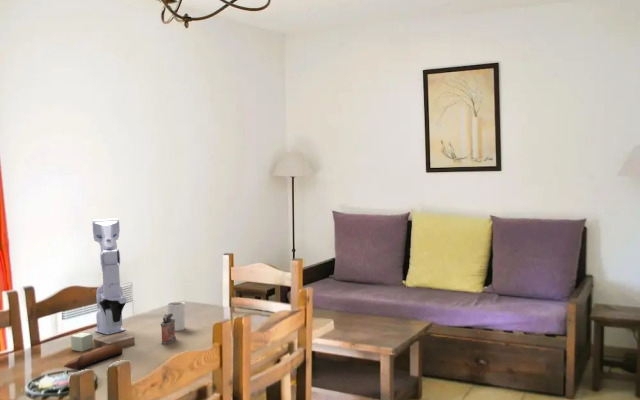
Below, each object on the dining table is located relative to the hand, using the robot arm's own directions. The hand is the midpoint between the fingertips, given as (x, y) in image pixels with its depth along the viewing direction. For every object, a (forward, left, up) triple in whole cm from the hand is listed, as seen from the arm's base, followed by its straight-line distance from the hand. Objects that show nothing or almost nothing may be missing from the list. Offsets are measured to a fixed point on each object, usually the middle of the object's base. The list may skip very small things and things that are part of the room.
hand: (113, 320), depth 222 cm
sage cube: (-6, -9, -9) cm, 14 cm away
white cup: (+1, +27, -9) cm, 29 cm away
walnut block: (0, 0, -9) cm, 9 cm away
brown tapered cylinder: (+10, -14, -10) cm, 20 cm away
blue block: (0, 0, -2) cm, 2 cm away
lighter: (+13, +14, -9) cm, 21 cm away
